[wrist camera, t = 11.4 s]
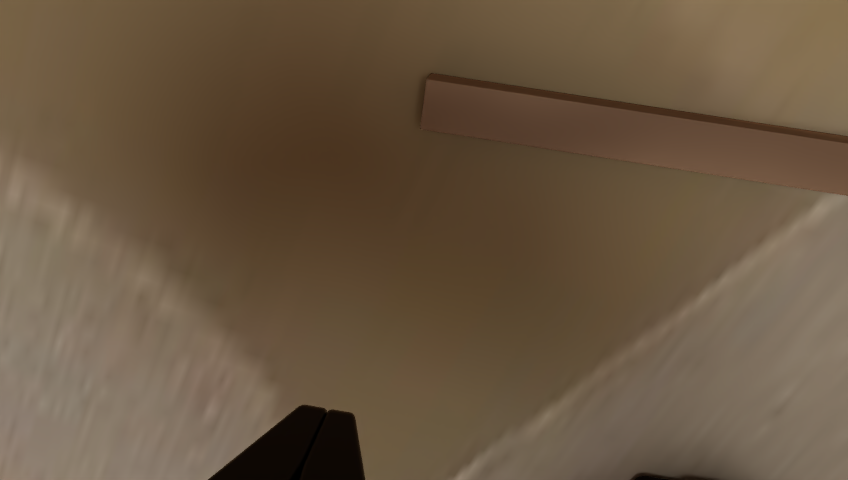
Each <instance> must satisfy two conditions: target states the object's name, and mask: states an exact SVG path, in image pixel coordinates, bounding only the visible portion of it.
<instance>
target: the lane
mask: <svg viewBox="0 0 848 480" xmlns="http://www.w3.org/2000/svg"><path fill="white" fill-rule="evenodd" d="M420 129H423V130H430V131H436V132H442V133H449V134H455V135H462V136H468V137H475V138H481V139H487V140H494V141H500V142H507V143H513V144H519V145H526V146H532V147H539V148H545V149H552V150H558V151H564V152H571V153H577V154H584V155H590V156H596V157H603V158H609V159H616V160H622V161H629V162H635V163H641V164H648V165H654V166H661V167H667V168H673V169H680V170H686V171H693V172H699V173H706V174H712V175H718V176H725V177H731V178H738V179H744V180H750V181H757V182H763V183H770V184H776V185H783V186H789V187H795V188H802V189H808V190H815V191H821V192H827V193H834V194H840V195H847V196H848V137H847V136H841V135H834V134H828V133H821V132H815V131H808V130H801V129H795V128H788V127H782V126H775V125H768V124H762V123H755V122H749V121H742V120H736V119H729V118H722V117H716V116H709V115H703V114H696V113H690V112H683V111H676V110H670V109H663V108H657V107H650V106H644V105H637V104H630V103H624V102H617V101H611V100H604V99H598V98H591V97H584V96H578V95H571V94H565V93H558V92H551V91H545V90H538V89H532V88H525V87H519V86H512V85H505V84H499V83H492V82H486V81H479V80H473V79H466V78H459V77H453V76H446V75H440V74H433V73H431V74H430V75H429V77H428V78H427V80H426V87H425V95H424V103H423V110H422V118H421V125H420Z"/></svg>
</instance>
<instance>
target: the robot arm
mask: <svg viewBox="0 0 848 480" xmlns="http://www.w3.org/2000/svg"><path fill="white" fill-rule="evenodd" d="M208 480H365V475H364V469H363V463H362V457H361V451H360V445H359V438H358V432H357V426H356V420H355V416H354V414H353V413H350V412H344V411H338V410H329V411H328V412H327V410H326V409H325V408H321V407H315V406H310V405H301V406H299V407H298V408H296V409H295V410H294V411H293V412H291V413H290V414H289V415H288V416H286V417H285V418H284V419H283V420H281V421H280V422H279V423H278V424H276V425H275V426H274V427H273V428H271V429H270V430H269V431H268V432H267V433H265V434H264V435H263V436H262V437H260V438H259V439H258V440H257V441H255V442H254V443H253V444H252V445H250V446H249V447H248V448H247V449H245V450H244V451H243V452H242V453H240V454H239V455H238V456H237V457H235V458H234V459H233V460H232V461H230V462H229V463H228V464H227V465H226V466H224V467H223V468H222V469H221V470H219V471H218V472H217V473H216V474H214V475H213V476H212V477H211V478H209V479H208ZM635 480H666V479H661V478H655V477H649V476H641V477H638V478H636V479H635Z"/></svg>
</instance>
